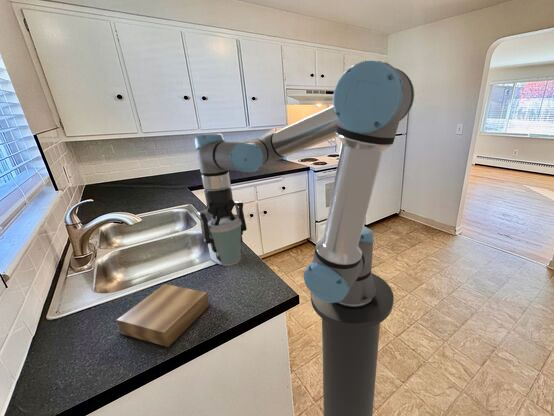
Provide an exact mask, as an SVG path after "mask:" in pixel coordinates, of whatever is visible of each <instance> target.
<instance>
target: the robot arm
mask: <svg viewBox="0 0 554 416" xmlns="http://www.w3.org/2000/svg"><path fill="white" fill-rule="evenodd" d="M414 100H415V88H414V84H413V82H412V80H411V79H410V77H409V76H408V75H407V73H405V72H404V71H403V70H401V69H399V68H396V67H394V66H393V65H391V64H389V63H388V62H385V61H384V62H383V61H382V60H364V61H360V62H357V63H355V64H353V65H352V66H350V67H348V69H347V70H345V71H344V72H343V73H342V75H341V76H340V77H339V79H338V80H337V82H336V85H335V87H334V90H333V95H332V105H331V106H329V107H327V108H325V109H323V110H321V111H318V112H316V113H314V114H312V115H309V116H307V117H305V118H303V119H301V120H299V121H297V122H295V123H293V124H290V125H288V126H286V127H284V128H281V129H280V130H277V131H275V132H273V133H271V134H268V135H266V136H264V137H259V138H253V139H248V140H242V141H225V139H224V135H223V134H222V133H220V132H208V133H199V134H196V135H195V136H194V145H195V152H196V157H197V161H198V166H199V172H200V176H201V181H202V186H203V189H204V197H205V203H206V206H205V209H203V210H202V211H201V210H199V211H197V213H196V214H197V216H198V218H199V220H200V228H201V229H200V230H201V235H202V236H201V237H202V241H203V242H204V243H205V244H207V245H208V244H209V243H211V248H212V251H213V252H214V253H216V252H217V250H216V248H215V245H214V244H215V243H214V240H213V239H211V238H210V237H209V229H208V222H209V221H208V215H209V214H210V215H211V217H210V220H211V219H212V223H211V224H212V225H214V226H217V225H219V222H220V218H223V217H228V219H229V220H231V221H233V220H234V219H235V218H234V215H233V214H234V213H233V209H234V208H235V212H236V215H238V216H239V218H240V219H241V222H242V224H241V243H243V235H244V232H246V231H247V230H248V228H247V223H246V219H245V214H244V202H242V201H240V200H237V201H234V199H233V198H234V197H233V190H232V187H231V185H232V183H231V178H230V172H229V171H236V172H241V173H254V172H257V171H258V170H259V169H260V168H261V167H262V166H263V165H265V164H269V163H272V162H277V161H280V160H281V159H284V158H285V157H288V156H290V155H293V154H296V153H299V152H301V151H303V150H307V149H309V148H311V147H314V146H316V145H319V144H322V143H324V142H327V141H329V140H332V139H335V138H337V137H338V138H339V141H341V145H340V150H339V156H338V162H337V166H336V172H335V177H334V181H333V182H334V183H333V187H332V192H331V196H330V197H331V198H330V202H329V208H328V213H327V218H326V223H325V227H324V233H323V236H322V237H320V238H319V239H318V240H317V241H316V244H315V247H314V252H313V258H312V260H311V263H309V264H307V266H306V268H305V270H304V271H303V281H304V284H305V286H306V288H307V289H308V290H309V291H310V294H311V293H312V294H313V295H314V296H316V297H317V298H318V299H320V300H322V301H325V302H328V303H335V304H337V305H339V306H341V307H344V308H348V309H359V308H363V307H366V306H368V305H370V304H371V303H372V302H373V301H374V302H375V303H377V302H378V301H377V300H376V299H375V296H376V288H375V284H374V281H373V278H372V275H371V273H372V265H373V250H374V241H375V239H374V232H373V231H372V230H371V229H370V228H368V227H367V226H365V220H366V217H367V214H368V211H369V206H370V203H371V199H372V194H373V191H374V187H375V183H376V180H377V177H378V173H379V168H380V165H381V161H382V158H383V154H384V152H385V150H387V149H389V148H391V147H392V146H394V142H395V139H396V136H397V132H398V128H399V124H400V122H401V121H402V120H403V119H405V117H406V116H407V115H408V114H409V112H410V111H411V109H412V108H413V103H414ZM242 253H243V251H242V249H241V254H242ZM216 258H217V259H218V260H219V261H221V259H220V256H219V255H218V257H217V254H216Z"/></svg>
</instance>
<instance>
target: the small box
mask: <svg viewBox="0 0 554 416" xmlns="http://www.w3.org/2000/svg"><path fill="white" fill-rule="evenodd" d="M209 237H210V236H209ZM207 247H208V251H209V252H208V253H209V257H210V259H211V260H213V261H214V262H215V263H217V264H218V265H219V266H223V265H222V264H221V263H220V262H219V260H218V259H217V258H216V253H214V252H213V251H212V248H211V243H209V244H207Z"/></svg>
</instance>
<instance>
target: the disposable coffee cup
mask: <svg viewBox="0 0 554 416" xmlns="http://www.w3.org/2000/svg"><path fill="white" fill-rule="evenodd" d="M233 215H234V218H235V219H234V220H233V221H231V220H229V219H228V217H223V218H220V222H219V225H217V226H214V225H212V224H211V223H212V219H211V218H210V220H209V221H208V229H209V236H210V238H211V239H213V240H214V243H215V244H214V245H215V248H216V250H217V252H216V254H217V257H218V255H219V256H220V259H221V261H219V262H220V263H221V264H222V265H221V266H227V267H229V266H234V265H236V264H238V263H240V261H241V258H242V253H241V250H242V242H241V224H242V222H241V219H240V218H239V216H238V215H237V213H233Z"/></svg>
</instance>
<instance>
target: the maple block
mask: <svg viewBox="0 0 554 416" xmlns="http://www.w3.org/2000/svg"><path fill="white" fill-rule="evenodd" d="M209 306H210V302H209V297H208V292H206V291H202V290H197V289H191V288H186V287H182V286H177V285H172V284H167V283H164V284H163V285H161V286H159V288H157V289H155V290H154V291H153V292H152V293H150V294H149V295H148V296H146V297H145V298H143V300H141V301H140V302H138V303H137V304H135V305H134V306H133V307H132V308H131V309H129V310H128V311H126V312H125V313H124V314H122V315H121V316H120V317H118V318H116V323H117V325H118V328H119V331H120V333H121V335H124V336H127V337H130V338H131V337H132V338H135V339H138V340H142V341H146V342H149V343H153V344H156V345H159V346H162V347H163V346H164V347H166V348H169V347H171V345H172V344H174V342H176V340H177V339H179V337H180V336H181V335H182V334H183V333H184V332H185V331H186V330H187V329H188V328H189V327H190V326H191V325H192V324H193V323H194V322H195V321H196V320H197V319H198V318H199V317H200V316H201V315H202V314H203V313H204V312H205V311H206V310H207V309H208V308H209Z"/></svg>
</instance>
